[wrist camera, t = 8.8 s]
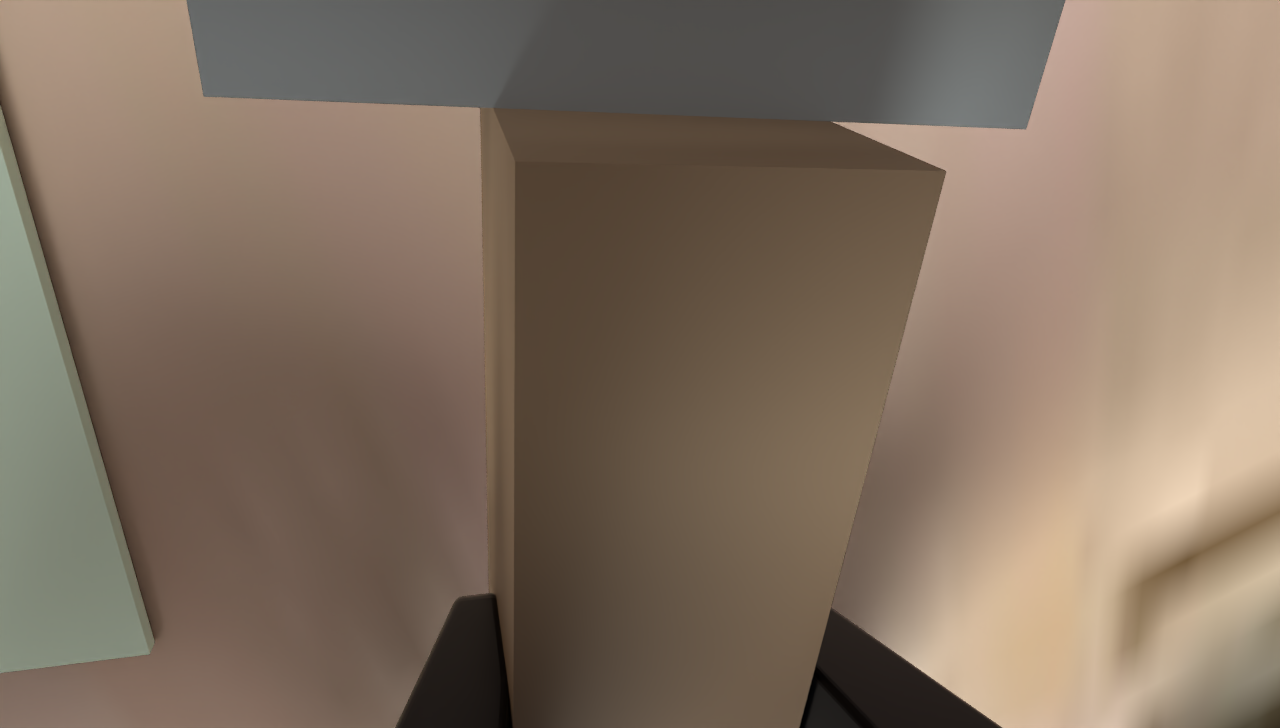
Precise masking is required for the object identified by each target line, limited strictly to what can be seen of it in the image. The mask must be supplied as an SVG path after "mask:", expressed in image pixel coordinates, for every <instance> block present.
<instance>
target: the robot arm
mask: <svg viewBox="0 0 1280 728" xmlns="http://www.w3.org/2000/svg"><path fill="white" fill-rule="evenodd" d="M395 728H510V698H509V689H508V681H507V673H506V666H505V658H504V651H503V644H502V636H501V629H500V622H499V614H498V607H497V599H496V595H495V594H494V593H486V594H477V595H469V596H462V597H459V598H458V599H457V600H456V601H455V602H454V604H453V606H452V608H451V610H450V612H449V614H448V616H447V619H446V621H445V623H444V625H443V627H442V629H441V631H440V633H439V636H438V638H437V640H436V642H435V644H434V646H433V648H432V650H431V653H430V655H429V657H428V659H427V661H426V663H425V665H424V667H423V670H422V672H421V674H420V676H419V678H418V680H417V682H416V684H415V687H414V689H413V691H412V693H411V695H410V697H409V699H408V701H407V704H406V706H405V708H404V710H403V712H402V714H401V716H400V718H399V721H398V723H397V725H396V727H395ZM799 728H1002V727H1001V726H999V725H998V724H996V723H995V722H993V721H992V720H991V719H989V718H988V717H986V716H985V715H983V714H982V713H981V712H979V711H978V710H976V709H975V708H973V707H972V706H971V705H969V704H968V703H966V702H965V701H963V700H962V699H961V698H959V697H958V696H956V695H955V694H953V693H952V692H951V691H949V690H948V689H946V688H945V687H943V686H942V685H941V684H939V683H938V682H936V681H935V680H934V679H932V678H931V677H929V676H928V675H926V674H925V673H924V672H922V671H921V670H919V669H918V668H916V667H915V666H914V665H912V664H911V663H909V662H908V661H906V660H905V659H904V658H902V657H901V656H899V655H898V654H896V653H895V652H894V651H892V650H891V649H889V648H888V647H886V646H885V645H884V644H882V643H881V642H879V641H878V640H876V639H875V638H874V637H872V636H871V635H869V634H868V633H866V632H865V631H864V630H862V629H861V628H859V627H858V626H856V625H855V624H854V623H852V622H851V621H849V620H848V619H847V618H845V617H844V616H842V615H841V614H839V613H838V612H837V611H835V610H834V609H832V608H831V609H830V613H829V617H828V621H827V625H826V628H825V632H824V636H823V640H822V644H821V647H820V651H819V655H818V659H817V662H816V666H815V670H814V674H813V678H812V681H811V685H810V689H809V693H808V697H807V700H806V704H805V708H804V712H803V715H802V719H801V723H800V727H799Z"/></svg>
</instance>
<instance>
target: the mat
mask: <svg viewBox="0 0 1280 728" xmlns="http://www.w3.org/2000/svg"><path fill="white" fill-rule="evenodd" d="M154 643H155V641H154V638H153V634H152V631H151V627H150V624H149V620H148V617H147V613H146V610H145V606H144V603H143V599H142V596H141V592H140V589H139V585H138V582H137V578H136V575H135V571H134V568H133V564H132V561H131V558H130V554H129V551H128V547H127V544H126V540H125V537H124V533H123V530H122V526H121V523H120V519H119V516H118V512H117V509H116V505H115V502H114V498H113V495H112V491H111V488H110V484H109V481H108V478H107V474H106V471H105V467H104V464H103V460H102V457H101V453H100V450H99V446H98V443H97V439H96V436H95V432H94V429H93V425H92V422H91V418H90V415H89V411H88V408H87V404H86V401H85V398H84V394H83V391H82V387H81V384H80V380H79V377H78V373H77V370H76V366H75V363H74V359H73V356H72V352H71V349H70V345H69V342H68V338H67V335H66V331H65V328H64V325H63V321H62V318H61V314H60V311H59V307H58V304H57V300H56V297H55V293H54V290H53V286H52V283H51V279H50V276H49V272H48V269H47V265H46V262H45V258H44V255H43V251H42V248H41V245H40V241H39V238H38V234H37V231H36V227H35V224H34V220H33V217H32V213H31V210H30V206H29V203H28V199H27V196H26V192H25V189H24V185H23V182H22V178H21V175H20V171H19V168H18V165H17V161H16V158H15V154H14V151H13V147H12V144H11V140H10V137H9V133H8V130H7V126H6V123H5V119H4V116H3V112H2V109H1V105H0V673H6V672H14V671H22V670H30V669H38V668H46V667H54V666H62V665H70V664H77V663H85V662H93V661H101V660H109V659H117V658H125V657H133V656H141V655H149V654H150V653H151V650H152V648H153V646H154Z"/></svg>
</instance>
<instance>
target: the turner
mask: <svg viewBox="0 0 1280 728" xmlns="http://www.w3.org/2000/svg"><path fill="white" fill-rule="evenodd" d="M1064 3H1065V0H187V5H188V11H189V16H190V22H191V28H192V33H193V39H194V45H195V50H196V56H197V62H198V67H199V73H200V79H201V84H202V90H203V95H204V97H229V98H254V99H279V100H304V101H329V102H354V103H379V104H405V105H430V106H455V107H480V121H481V179H482V237H483V295H484V353H485V410H486V468H487V526H488V584H489V593H494V594H495V595H496V599H497V607H498V614H499V622H500V629H501V636H502V644H503V651H504V658H505V666H506V673H507V681H508V689H509V698H510V728H799V727H800V723H801V719H802V715H803V712H804V708H805V704H806V700H807V697H808V693H809V689H810V685H811V681H812V678H813V674H814V670H815V666H816V662H817V659H818V655H819V651H820V647H821V644H822V640H823V636H824V632H825V628H826V625H827V621H828V617H829V613H830V609H831V606H832V602H833V598H834V594H835V590H836V587H837V583H838V579H839V575H840V572H841V568H842V564H843V560H844V556H845V553H846V549H847V545H848V541H849V537H850V534H851V530H852V526H853V522H854V519H855V515H856V511H857V507H858V503H859V500H860V496H861V492H862V488H863V484H864V481H865V477H866V473H867V469H868V466H869V462H870V458H871V454H872V450H873V447H874V443H875V439H876V435H877V431H878V428H879V424H880V420H881V416H882V413H883V409H884V405H885V401H886V397H887V394H888V390H889V386H890V382H891V378H892V375H893V371H894V367H895V363H896V360H897V356H898V352H899V348H900V344H901V341H902V337H903V333H904V329H905V325H906V322H907V318H908V314H909V310H910V307H911V303H912V299H913V295H914V291H915V288H916V284H917V280H918V276H919V272H920V269H921V265H922V261H923V257H924V254H925V250H926V246H927V242H928V238H929V235H930V231H931V227H932V223H933V219H934V216H935V212H936V208H937V204H938V201H939V197H940V193H941V189H942V185H943V182H944V178H945V174H946V171H945V170H942V169H940V168H938V167H935V166H933V165H931V164H928V163H926V162H924V161H921V160H919V159H917V158H914V157H912V156H910V155H907V154H905V153H903V152H900V151H898V150H896V149H893V148H891V147H889V146H886V145H884V144H882V143H879V142H877V141H875V140H872V139H870V138H868V137H865V136H863V135H861V134H858V133H856V132H854V131H851V130H849V129H847V128H844V127H842V126H840V125H837V124H835V123H833V122H857V123H882V124H907V125H932V126H957V127H982V128H1007V129H1026V128H1027V124H1028V121H1029V118H1030V115H1031V111H1032V108H1033V105H1034V101H1035V98H1036V95H1037V92H1038V88H1039V85H1040V82H1041V78H1042V75H1043V72H1044V69H1045V65H1046V62H1047V59H1048V55H1049V52H1050V49H1051V46H1052V42H1053V39H1054V36H1055V33H1056V29H1057V26H1058V23H1059V19H1060V16H1061V13H1062V10H1063V6H1064ZM830 121H832V122H830Z"/></svg>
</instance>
